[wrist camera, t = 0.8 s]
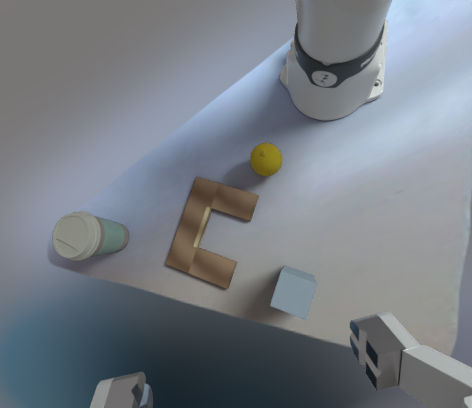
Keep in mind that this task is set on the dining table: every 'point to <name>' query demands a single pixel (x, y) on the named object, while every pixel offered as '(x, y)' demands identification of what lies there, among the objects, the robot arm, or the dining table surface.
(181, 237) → the wooden u-shaped frame
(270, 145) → the lemon
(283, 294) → the blue-grey rectangular block
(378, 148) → the dining table surface
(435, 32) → the dining table surface
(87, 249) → the coffee cup
